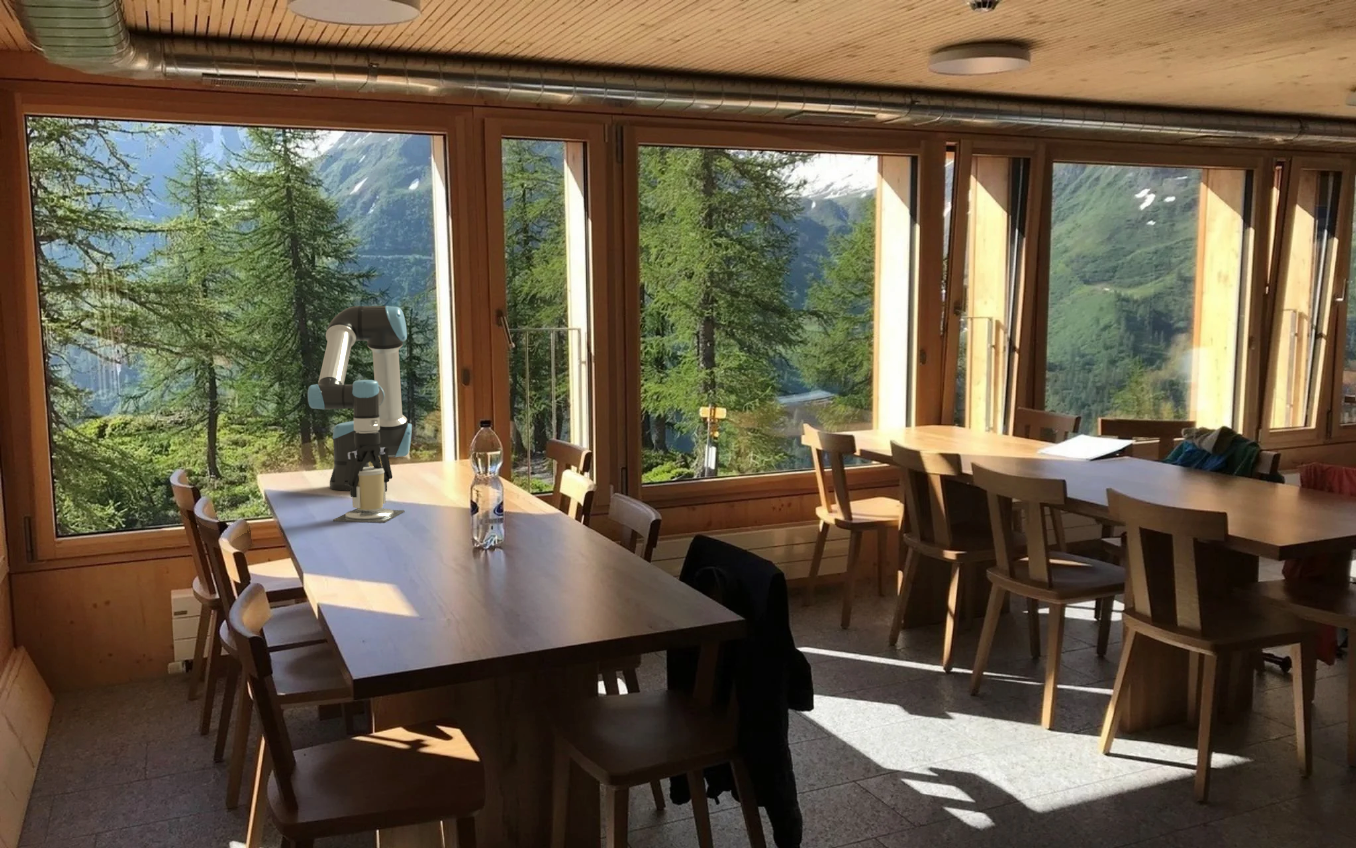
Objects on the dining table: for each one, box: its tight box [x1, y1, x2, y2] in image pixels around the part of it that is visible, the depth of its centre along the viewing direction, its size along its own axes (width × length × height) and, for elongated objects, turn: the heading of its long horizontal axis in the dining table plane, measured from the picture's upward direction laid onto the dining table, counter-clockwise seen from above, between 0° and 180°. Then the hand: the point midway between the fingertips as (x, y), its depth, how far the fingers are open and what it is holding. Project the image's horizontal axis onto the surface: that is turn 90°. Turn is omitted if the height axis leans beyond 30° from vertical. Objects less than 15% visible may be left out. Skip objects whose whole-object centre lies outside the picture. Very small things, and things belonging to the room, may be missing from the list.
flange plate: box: [332, 508, 406, 524], centre depth 319 cm, size 16×16×1 cm
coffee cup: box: [356, 466, 384, 511], centre depth 318 cm, size 9×9×12 cm
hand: (369, 505), depth 318 cm, fingers closed on coffee cup, 9 cm apart
